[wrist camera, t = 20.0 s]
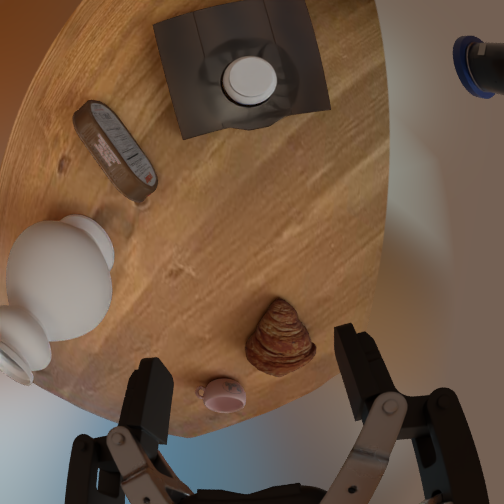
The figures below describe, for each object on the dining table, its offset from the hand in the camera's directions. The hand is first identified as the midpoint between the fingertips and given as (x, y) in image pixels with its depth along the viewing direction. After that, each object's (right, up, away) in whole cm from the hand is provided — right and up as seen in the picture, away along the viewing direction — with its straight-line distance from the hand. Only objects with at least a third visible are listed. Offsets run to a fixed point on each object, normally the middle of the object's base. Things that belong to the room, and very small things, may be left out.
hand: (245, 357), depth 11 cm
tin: (-16, +19, +20) cm, 32 cm away
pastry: (+5, -12, +41) cm, 43 cm away
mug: (-7, -27, +49) cm, 56 cm away
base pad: (-1, +28, +16) cm, 32 cm away
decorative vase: (-28, +5, +28) cm, 40 cm away
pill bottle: (0, +25, +18) cm, 31 cm away
